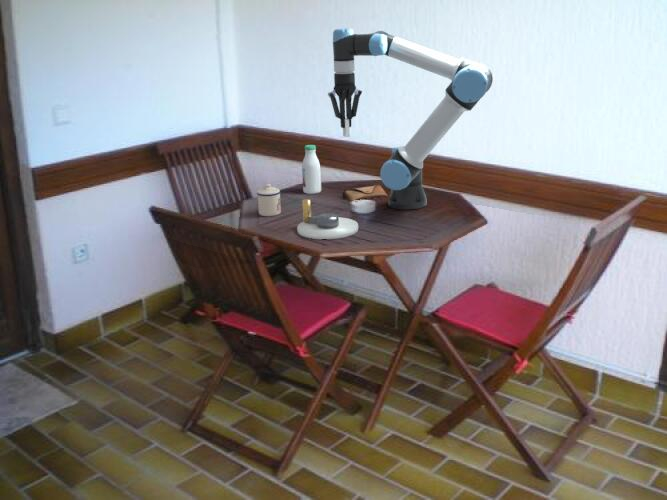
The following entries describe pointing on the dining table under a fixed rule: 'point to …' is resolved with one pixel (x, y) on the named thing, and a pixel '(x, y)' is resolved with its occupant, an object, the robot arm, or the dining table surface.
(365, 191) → the sunglasses case
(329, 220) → the lever
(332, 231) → the dial plate
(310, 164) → the milk bottle
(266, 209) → the teacup with lid
